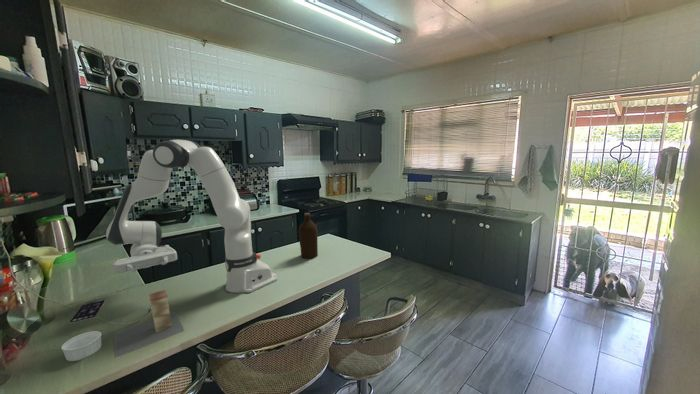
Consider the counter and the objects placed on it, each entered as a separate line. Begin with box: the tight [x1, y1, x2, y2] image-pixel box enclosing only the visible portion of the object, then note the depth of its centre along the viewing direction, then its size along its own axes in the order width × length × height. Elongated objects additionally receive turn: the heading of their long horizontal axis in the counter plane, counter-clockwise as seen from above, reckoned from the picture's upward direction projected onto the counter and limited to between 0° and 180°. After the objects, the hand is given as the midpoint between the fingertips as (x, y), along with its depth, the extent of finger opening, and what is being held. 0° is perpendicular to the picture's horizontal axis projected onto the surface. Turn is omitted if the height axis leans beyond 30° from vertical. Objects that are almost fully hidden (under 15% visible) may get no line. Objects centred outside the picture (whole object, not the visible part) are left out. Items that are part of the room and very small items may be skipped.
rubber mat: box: [113, 311, 185, 358], centre depth 94 cm, size 18×16×1 cm
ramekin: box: [61, 330, 102, 362], centre depth 85 cm, size 9×9×4 cm
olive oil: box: [298, 212, 319, 260], centre depth 158 cm, size 11×11×25 cm
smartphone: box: [68, 299, 106, 324], centre depth 109 cm, size 8×1×15 cm
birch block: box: [149, 289, 172, 332], centre depth 96 cm, size 4×4×12 cm
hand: (149, 266), depth 106 cm, fingers open, 8 cm apart
